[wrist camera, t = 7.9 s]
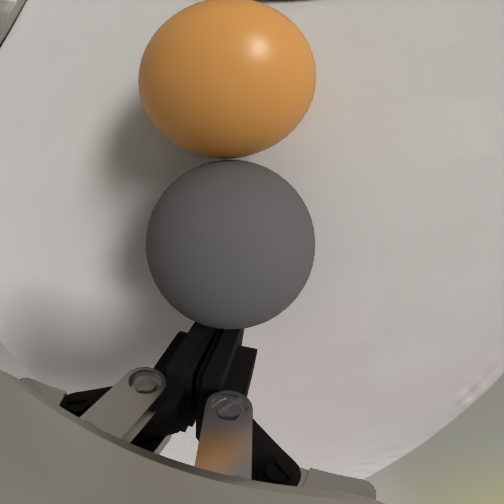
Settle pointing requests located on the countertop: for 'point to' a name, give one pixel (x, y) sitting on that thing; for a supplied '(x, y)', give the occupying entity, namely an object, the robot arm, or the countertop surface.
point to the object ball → (227, 78)
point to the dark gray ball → (230, 244)
